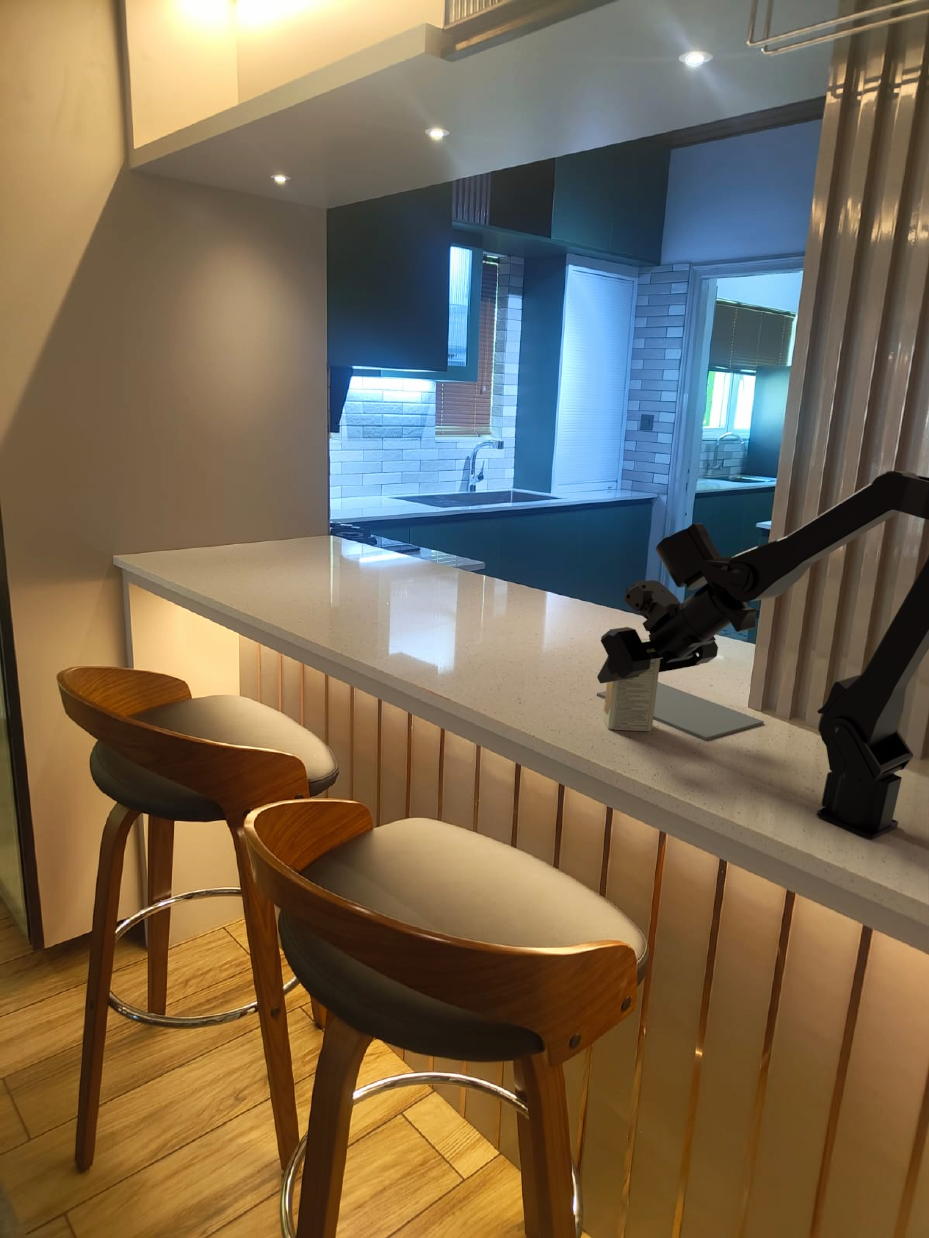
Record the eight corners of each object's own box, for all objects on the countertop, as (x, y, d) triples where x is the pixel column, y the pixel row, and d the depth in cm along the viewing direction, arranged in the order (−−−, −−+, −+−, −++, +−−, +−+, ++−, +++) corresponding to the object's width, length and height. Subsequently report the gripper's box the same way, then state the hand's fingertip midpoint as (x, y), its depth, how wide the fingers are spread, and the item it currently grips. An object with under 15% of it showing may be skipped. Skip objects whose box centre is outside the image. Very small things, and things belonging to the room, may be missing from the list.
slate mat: (763, 723, 127) (763, 721, 127) (705, 740, 118) (705, 737, 118) (655, 683, 142) (655, 681, 142) (596, 695, 133) (597, 692, 133)
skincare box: (644, 721, 124) (656, 638, 121) (652, 732, 119) (664, 647, 117) (600, 718, 123) (610, 635, 120) (605, 729, 119) (617, 643, 116)
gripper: (713, 562, 119) (639, 620, 130) (622, 568, 107) (549, 632, 118) (753, 632, 115) (674, 686, 126) (663, 646, 103) (584, 705, 114)
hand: (621, 675), depth 121 cm, fingers open, 9 cm apart
